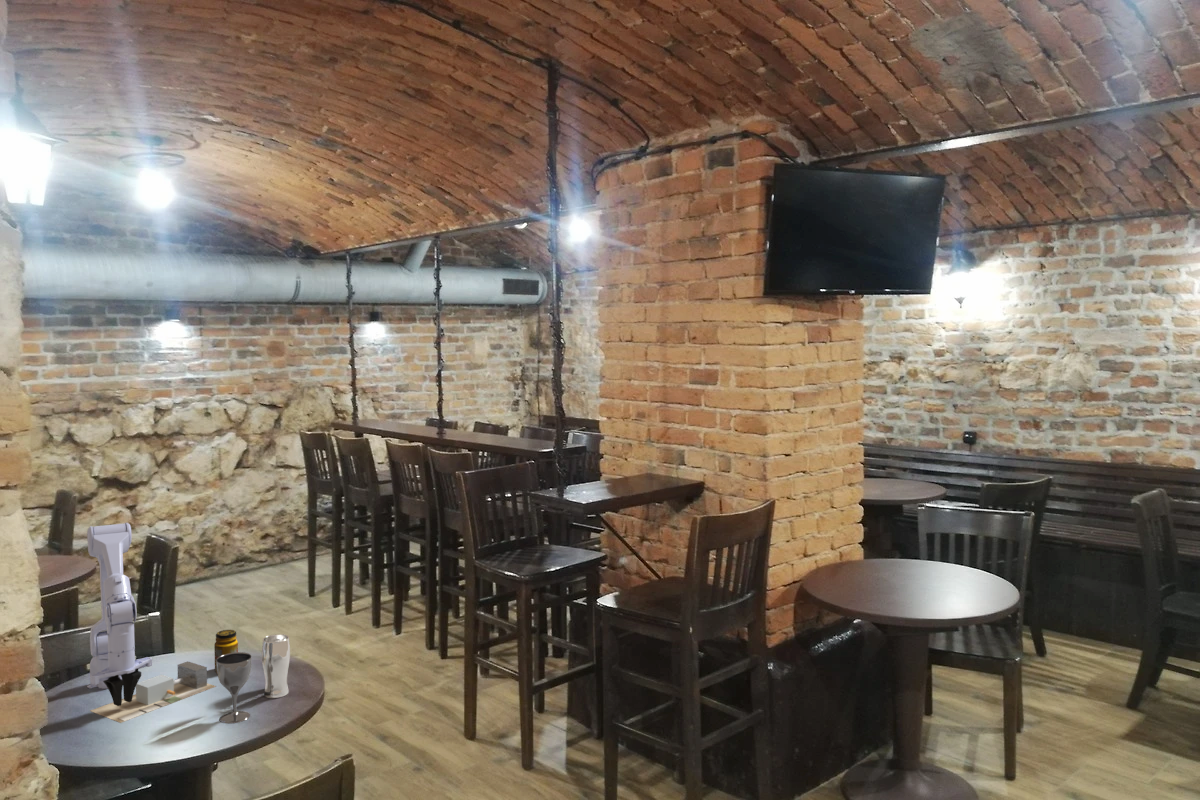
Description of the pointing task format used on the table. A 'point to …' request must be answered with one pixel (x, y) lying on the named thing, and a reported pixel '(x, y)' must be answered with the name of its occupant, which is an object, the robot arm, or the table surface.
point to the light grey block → (156, 689)
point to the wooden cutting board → (137, 708)
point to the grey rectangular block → (192, 675)
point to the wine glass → (234, 681)
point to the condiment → (225, 644)
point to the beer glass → (276, 664)
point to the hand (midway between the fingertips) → (122, 702)
